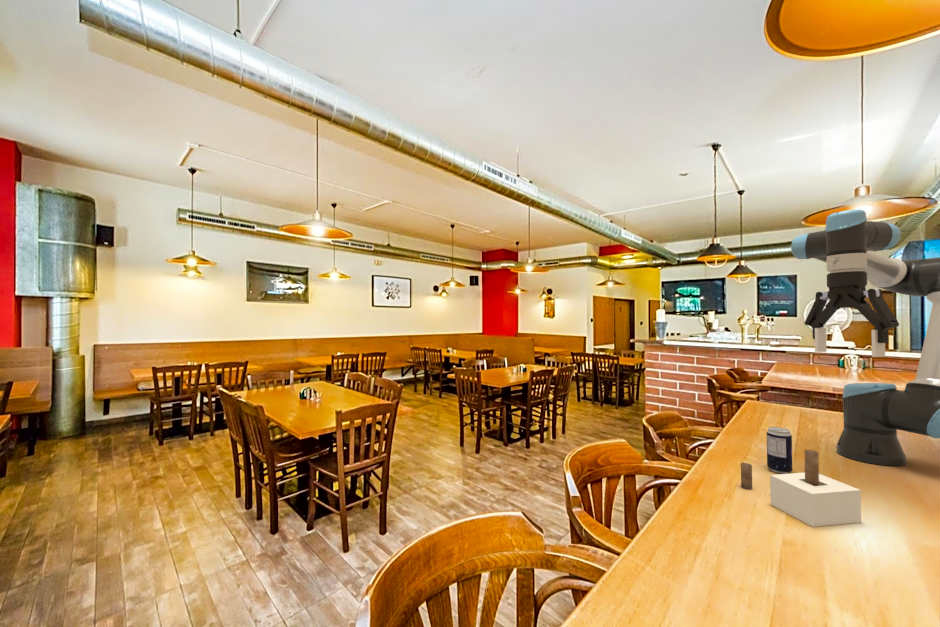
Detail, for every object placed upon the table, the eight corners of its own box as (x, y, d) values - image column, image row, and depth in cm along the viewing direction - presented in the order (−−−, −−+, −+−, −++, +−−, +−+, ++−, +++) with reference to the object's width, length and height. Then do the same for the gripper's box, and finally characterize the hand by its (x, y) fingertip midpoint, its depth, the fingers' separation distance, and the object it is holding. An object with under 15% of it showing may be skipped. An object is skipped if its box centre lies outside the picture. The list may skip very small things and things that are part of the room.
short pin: (746, 485, 103) (746, 462, 103) (754, 489, 101) (754, 466, 101) (738, 485, 103) (738, 463, 103) (746, 489, 101) (745, 466, 101)
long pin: (811, 510, 90) (810, 449, 90) (822, 515, 88) (821, 452, 88) (802, 510, 90) (801, 449, 90) (813, 516, 87) (812, 453, 87)
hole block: (814, 500, 94) (814, 471, 94) (861, 522, 84) (860, 490, 85) (770, 504, 93) (770, 475, 93) (812, 526, 83) (812, 493, 83)
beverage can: (797, 475, 109) (796, 432, 109) (773, 474, 110) (773, 431, 110) (785, 467, 115) (784, 427, 115) (763, 466, 116) (762, 426, 116)
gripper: (788, 276, 113) (789, 350, 112) (892, 265, 88) (893, 359, 88) (810, 276, 113) (812, 349, 113) (920, 265, 89) (921, 358, 89)
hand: (847, 354), depth 101 cm, fingers open, 13 cm apart
